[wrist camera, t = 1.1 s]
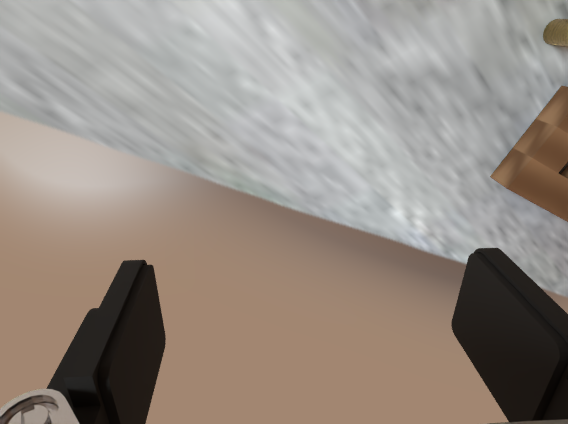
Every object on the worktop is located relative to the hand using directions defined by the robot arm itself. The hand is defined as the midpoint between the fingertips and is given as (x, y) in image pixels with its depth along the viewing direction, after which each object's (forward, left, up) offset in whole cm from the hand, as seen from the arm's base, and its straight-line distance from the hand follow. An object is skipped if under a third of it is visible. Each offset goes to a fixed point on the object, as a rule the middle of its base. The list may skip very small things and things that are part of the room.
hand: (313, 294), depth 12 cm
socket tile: (-9, +28, -26) cm, 39 cm away
